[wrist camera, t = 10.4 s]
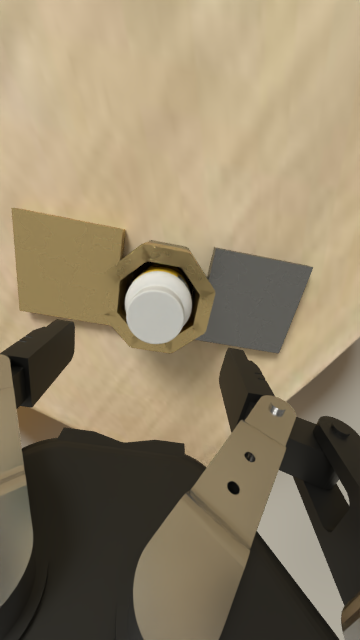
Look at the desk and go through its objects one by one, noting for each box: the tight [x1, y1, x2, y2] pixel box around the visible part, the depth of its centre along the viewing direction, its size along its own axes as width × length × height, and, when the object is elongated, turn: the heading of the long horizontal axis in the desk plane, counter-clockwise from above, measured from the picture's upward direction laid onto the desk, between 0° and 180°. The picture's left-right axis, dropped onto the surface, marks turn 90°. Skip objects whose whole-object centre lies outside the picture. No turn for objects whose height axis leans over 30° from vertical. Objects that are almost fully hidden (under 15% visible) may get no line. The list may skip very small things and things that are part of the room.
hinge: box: [12, 208, 313, 353], centre depth 22 cm, size 29×10×6 cm, turn 79°
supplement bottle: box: [125, 263, 192, 344], centre depth 20 cm, size 5×5×10 cm
